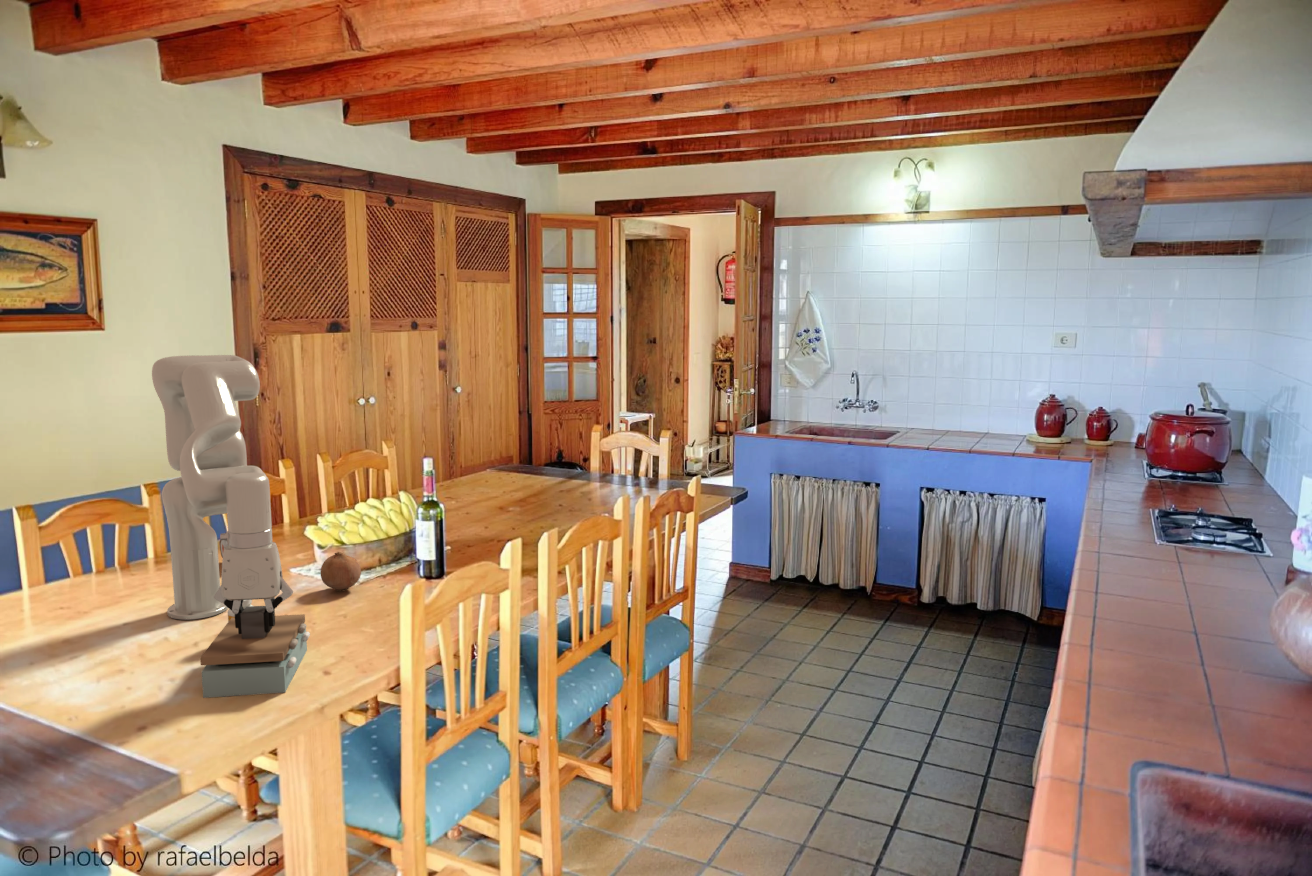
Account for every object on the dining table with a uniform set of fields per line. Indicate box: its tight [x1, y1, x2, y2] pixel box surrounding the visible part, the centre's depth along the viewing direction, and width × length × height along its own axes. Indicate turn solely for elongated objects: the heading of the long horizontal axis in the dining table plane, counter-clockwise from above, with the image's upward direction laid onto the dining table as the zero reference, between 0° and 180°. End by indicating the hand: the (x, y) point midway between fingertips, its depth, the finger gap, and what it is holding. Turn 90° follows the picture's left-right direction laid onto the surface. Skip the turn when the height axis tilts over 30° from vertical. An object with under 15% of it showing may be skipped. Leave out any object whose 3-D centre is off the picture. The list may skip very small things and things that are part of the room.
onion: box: [320, 551, 362, 592], centre depth 217 cm, size 10×9×10 cm
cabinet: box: [201, 628, 311, 699], centre depth 169 cm, size 20×15×5 cm
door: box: [199, 605, 308, 666], centre depth 168 cm, size 20×15×6 cm
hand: (255, 629), depth 168 cm, fingers closed on door, 4 cm apart
